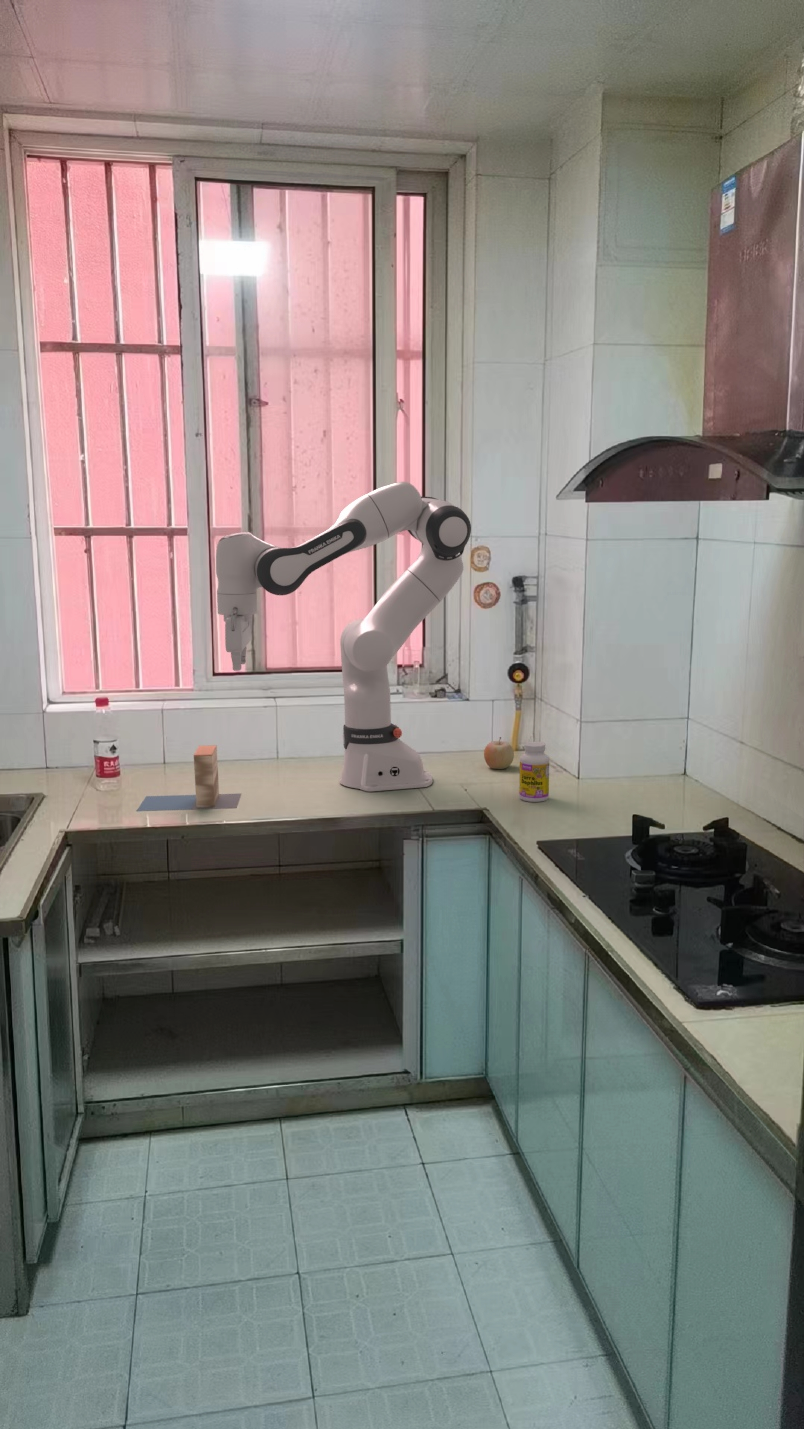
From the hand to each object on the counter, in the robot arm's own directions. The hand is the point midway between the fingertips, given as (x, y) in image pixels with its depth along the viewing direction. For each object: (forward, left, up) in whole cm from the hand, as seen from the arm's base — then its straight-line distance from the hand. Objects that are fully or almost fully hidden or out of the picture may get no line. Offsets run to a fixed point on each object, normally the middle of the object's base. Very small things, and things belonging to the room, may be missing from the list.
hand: (239, 667), depth 241 cm
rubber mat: (+11, +5, -31) cm, 33 cm away
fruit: (-62, -20, -31) cm, 72 cm away
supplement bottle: (-66, +9, -31) cm, 73 cm away
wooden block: (+8, +5, -30) cm, 31 cm away
